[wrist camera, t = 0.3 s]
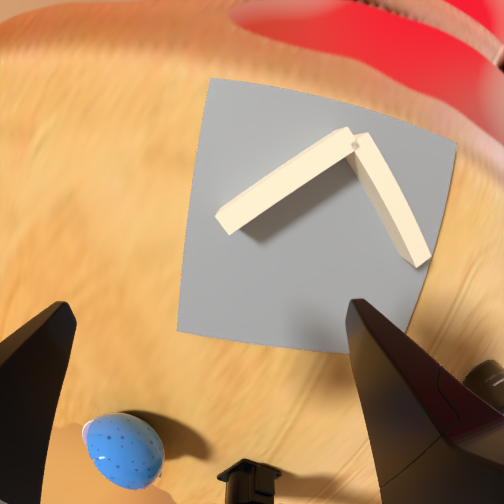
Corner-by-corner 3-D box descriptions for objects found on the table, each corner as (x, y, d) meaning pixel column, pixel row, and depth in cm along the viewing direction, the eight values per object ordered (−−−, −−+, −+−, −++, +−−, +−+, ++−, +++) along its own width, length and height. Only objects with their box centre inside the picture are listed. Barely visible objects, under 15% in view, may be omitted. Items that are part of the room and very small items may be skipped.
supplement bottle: (492, 349, 28) (544, 405, 17) (500, 373, 30) (543, 425, 18) (452, 385, 30) (496, 450, 18) (464, 405, 31) (502, 463, 20)
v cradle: (388, 348, 27) (405, 375, 23) (180, 322, 26) (168, 351, 22) (447, 142, 22) (478, 143, 17) (212, 82, 21) (204, 66, 16)
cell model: (78, 415, 31) (50, 467, 22) (124, 381, 29) (93, 447, 20) (136, 457, 33) (119, 511, 24) (192, 432, 31) (179, 498, 22)
